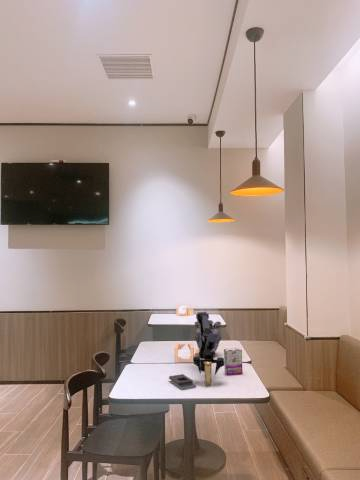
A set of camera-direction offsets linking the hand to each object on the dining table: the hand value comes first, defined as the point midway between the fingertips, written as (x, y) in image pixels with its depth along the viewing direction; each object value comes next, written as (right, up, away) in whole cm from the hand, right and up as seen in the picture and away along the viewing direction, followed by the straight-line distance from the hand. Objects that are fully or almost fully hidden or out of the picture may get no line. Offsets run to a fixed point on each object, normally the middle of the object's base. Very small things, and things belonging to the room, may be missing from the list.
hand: (207, 374), depth 215 cm
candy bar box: (+19, -9, +23) cm, 31 cm away
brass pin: (0, -7, +1) cm, 7 cm away
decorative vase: (+6, -12, +69) cm, 71 cm away
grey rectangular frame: (-15, -8, +3) cm, 17 cm away
